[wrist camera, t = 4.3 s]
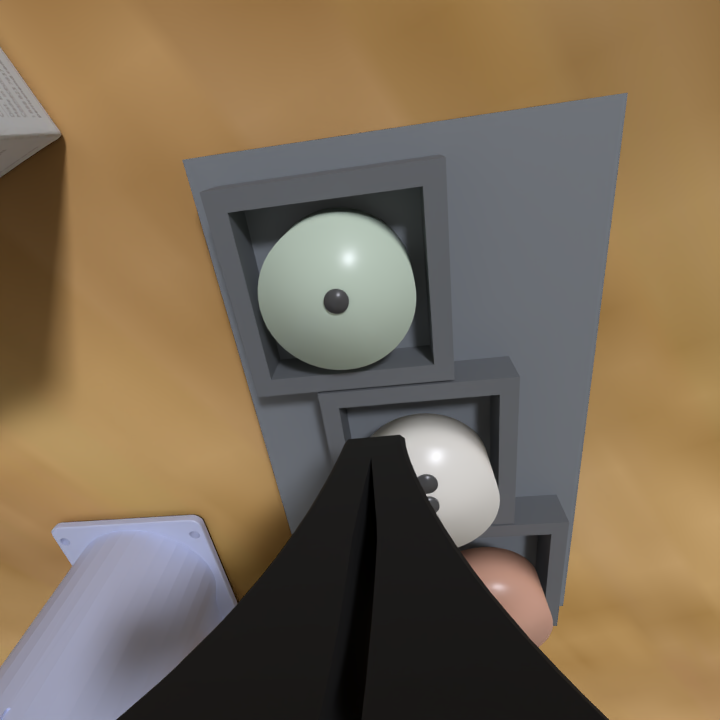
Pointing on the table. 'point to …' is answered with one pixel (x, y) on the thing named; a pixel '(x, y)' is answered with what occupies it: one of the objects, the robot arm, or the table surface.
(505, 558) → the clay button
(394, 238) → the sage button
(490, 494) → the cream button
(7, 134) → the small box
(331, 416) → the button panel
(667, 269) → the table surface
